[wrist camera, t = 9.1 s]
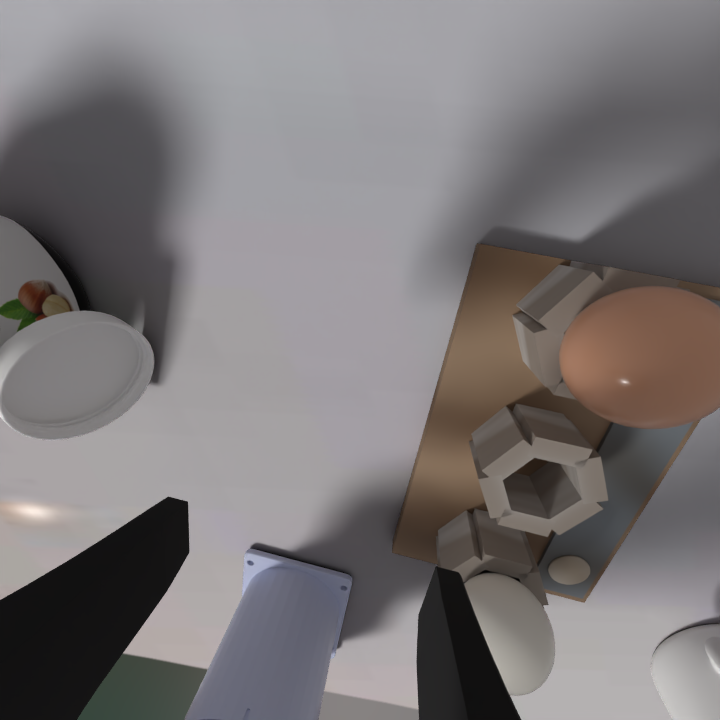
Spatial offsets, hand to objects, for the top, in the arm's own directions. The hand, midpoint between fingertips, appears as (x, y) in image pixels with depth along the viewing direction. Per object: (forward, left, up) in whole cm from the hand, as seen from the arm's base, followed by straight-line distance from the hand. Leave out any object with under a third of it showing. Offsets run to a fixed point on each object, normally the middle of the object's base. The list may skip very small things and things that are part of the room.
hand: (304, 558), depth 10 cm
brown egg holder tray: (0, -10, -10) cm, 14 cm away
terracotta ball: (+6, -9, -5) cm, 12 cm away
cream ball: (-8, -9, -5) cm, 13 cm away
